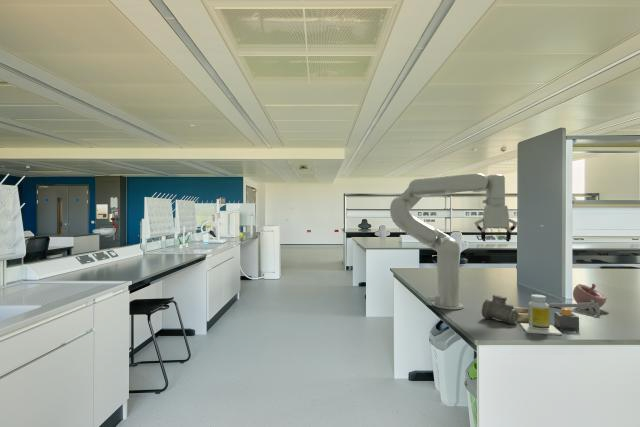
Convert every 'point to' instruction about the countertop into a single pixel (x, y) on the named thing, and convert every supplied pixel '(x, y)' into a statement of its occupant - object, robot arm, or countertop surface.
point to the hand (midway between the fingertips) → (495, 241)
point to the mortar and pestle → (588, 295)
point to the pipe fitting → (499, 310)
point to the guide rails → (523, 314)
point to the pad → (551, 330)
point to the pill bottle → (538, 313)
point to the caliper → (581, 305)
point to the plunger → (566, 312)
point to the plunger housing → (566, 321)
